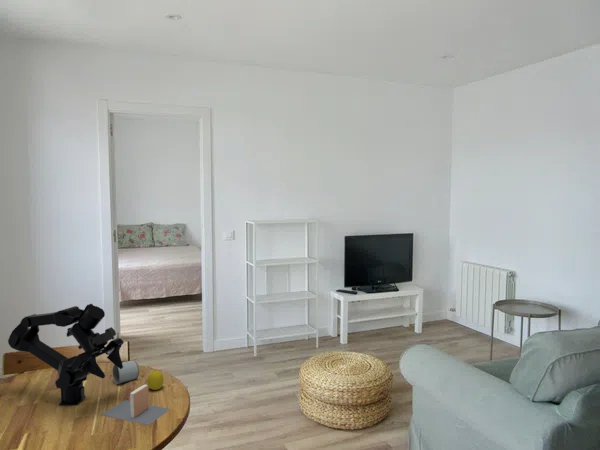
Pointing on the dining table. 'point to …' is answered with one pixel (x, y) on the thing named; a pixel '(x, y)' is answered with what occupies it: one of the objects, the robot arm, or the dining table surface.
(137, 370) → the ceramic mug
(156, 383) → the lemon
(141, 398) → the tile
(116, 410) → the mat
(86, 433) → the dining table surface
